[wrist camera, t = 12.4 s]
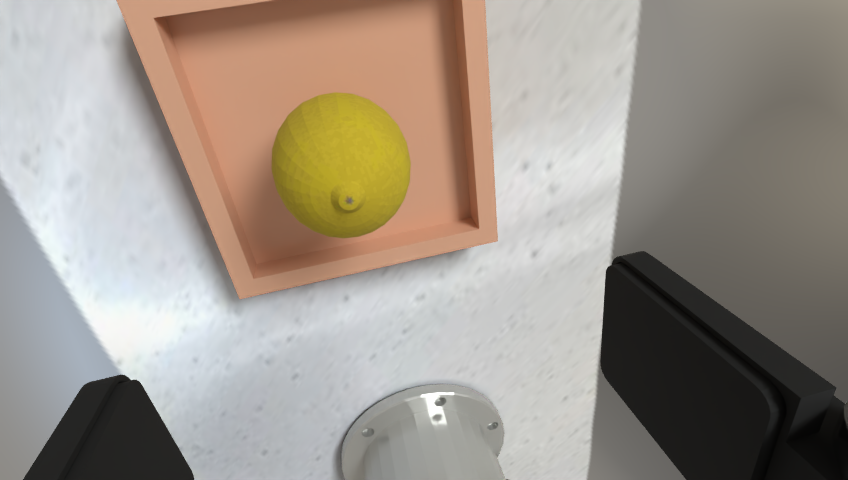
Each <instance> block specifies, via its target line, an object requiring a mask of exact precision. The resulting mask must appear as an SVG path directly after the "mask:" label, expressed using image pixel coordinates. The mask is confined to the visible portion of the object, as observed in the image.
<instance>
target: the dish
mask: <svg viewBox="0 0 848 480" xmlns="http://www.w3.org/2000/svg"><path fill="white" fill-rule="evenodd" d="M117 3H118V5H119V8H120V10H121V12H122V15H123V17H124V20H125V22H126V25H127V27H128V29H129V32H130V34H131V37H132V39H133V42H134V44H135V46H136V49H137V51H138V54H139V56H140V59H141V61H142V63H143V66H144V68H145V71H146V73H147V76H148V78H149V80H150V83H151V85H152V88H153V90H154V93H155V95H156V97H157V100H158V102H159V105H160V107H161V110H162V112H163V114H164V117H165V119H166V122H167V124H168V127H169V129H170V131H171V134H172V136H173V139H174V141H175V144H176V146H177V148H178V151H179V153H180V156H181V158H182V161H183V163H184V165H185V168H186V170H187V173H188V175H189V177H190V180H191V182H192V185H193V187H194V190H195V192H196V194H197V197H198V199H199V202H200V204H201V207H202V209H203V211H204V214H205V216H206V219H207V221H208V224H209V226H210V228H211V231H212V233H213V236H214V238H215V241H216V243H217V245H218V248H219V250H220V253H221V255H222V258H223V260H224V262H225V265H226V267H227V270H228V272H229V275H230V277H231V279H232V282H233V284H234V287H235V289H236V292H237V294H238V296H239V299H244V298H248V297H252V296H257V295H261V294H266V293H270V292H275V291H279V290H283V289H288V288H292V287H297V286H301V285H306V284H310V283H314V282H319V281H323V280H328V279H332V278H337V277H341V276H345V275H350V274H354V273H359V272H363V271H368V270H372V269H377V268H381V267H385V266H390V265H394V264H399V263H403V262H408V261H412V260H416V259H421V258H425V257H430V256H434V255H439V254H443V253H447V252H452V251H456V250H461V249H465V248H470V247H474V246H479V245H483V244H487V243H492V242H496V241H498V235H497V217H496V198H495V179H494V160H493V142H492V123H491V104H490V85H489V67H488V48H487V29H486V10H485V0H117ZM334 92H338V93H350V94H355V95H358V96H361V97H363V98H366V99H369V100H371V101H372V102H374V103H375V104H377V105H378V106H380V107H381V108H382V109H384V110H385V111H386V112H387V113H388V114H389V115H390V116H391V118H392V119H393V120H394V121H395V122H396V123H397V124H398V126H399V128H400V130H401V132H402V134H403V136H404V138H405V140H406V142H407V147H408V151H409V156H410V161H411V168H410V183H409V186H408V190H407V193H406V196H405V199H404V201H403V203H402V204H401V206H400V208H399V209H398V211H397V213H396V214H395V215H394V216H393V217H392V218H391V219H390V220H389V221H388V222H387V223H386V224H385V225H383V226H382V227H380V228H378V229H377V230H375V231H373V232H371V233H368V234H365V235H362V236H359V237H352V238H336V237H328V236H325V235H323V234H320V233H317V232H314V231H313V230H311V229H309V228H308V227H306V226H305V225H303V224H302V223H300V222H299V221H298V220H297V219H296V218H295V217H294V216H293V215H292V214H291V213H290V212H289V210H288V209H287V208H286V206H285V205H284V203H283V201H282V199H281V197H280V195H279V194H278V192H277V189H276V186H275V182H274V178H273V174H272V148H273V145H274V141H275V138H276V135H277V132H278V130H279V128H280V127H281V125H282V124H283V122H284V121H285V119H286V118H287V116H288V115H289V114H290V113H291V112H292V111H293V110H294V109H295V108H297V107H298V106H299V105H300V104H301V103H303V102H305V101H307V100H309V99H311V98H313V97H315V96H318V95H323V94H328V93H334Z"/></svg>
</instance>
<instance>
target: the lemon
mask: <svg viewBox="0 0 848 480" xmlns="http://www.w3.org/2000/svg"><path fill="white" fill-rule="evenodd" d="M410 168H411V161H410V156H409V151H408V147H407V142H406V140H405V138H404V136H403V134H402V132H401V130H400V128H399V126H398V124H397V123H396V122H395V121H394V120H393V119H392V118H391V116H390V115H389V114H388V113H387V112H386V111H385V110H384V109H382V108H381V107H380V106H378V105H377V104H375V103H374V102H372V101H371V100H369V99H366V98H363V97H361V96H358V95H355V94H350V93H338V92H334V93H328V94H323V95H318V96H315V97H313V98H311V99H309V100H307V101H305V102H303V103H301V104H300V105H299V106H298V107H297V108H295V109H294V110H293V111H292V112H291V113H290V114H289V115H288V116H287V118H286V119H285V121H284V122H283V124H282V125H281V127H280V128H279V130H278V132H277V135H276V138H275V141H274V145H273V148H272V174H273V178H274V182H275V186H276V189H277V192H278V194H279V195H280V197H281V199H282V201H283V203H284V205H285V206H286V208H287V209H288V210H289V212H290V213H291V214H292V215H293V216H294V217H295V218H296V219H297V220H298V221H299V222H300V223H302V224H303V225H305V226H306V227H308V228H309V229H311V230H313V231H314V232H317V233H320V234H323V235H325V236H328V237H336V238H352V237H359V236H362V235H365V234H368V233H371V232H373V231H375V230H377V229H378V228H380V227H382V226H383V225H385V224H386V223H387V222H388V221H389V220H390V219H391V218H392V217H393V216H394V215H395V214H396V213H397V211H398V209H399V208H400V206H401V204H402V203H403V201H404V199H405V196H406V193H407V190H408V186H409V183H410Z"/></svg>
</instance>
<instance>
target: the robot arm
mask: <svg viewBox="0 0 848 480" xmlns="http://www.w3.org/2000/svg"><path fill="white" fill-rule="evenodd" d="M600 362H601V369H602V372H603V374H604V376H605V378H606V379H607V381H608V382H609V383H610V385H611V386H612V387H613V388H614V390H615V391H616V392H617V393H618V395H619V396H620V397H621V398H622V400H623V401H624V402H625V403H626V405H627V406H628V407H629V408H630V410H631V411H632V412H633V413H634V415H635V416H636V417H637V418H638V420H639V421H640V422H641V423H642V425H643V426H644V427H645V428H646V430H647V431H648V432H649V433H650V435H651V436H652V437H653V438H654V440H655V441H656V442H657V443H658V445H659V446H660V447H661V449H662V450H663V451H664V452H665V454H666V455H667V456H668V457H669V459H670V460H671V461H672V462H673V463H674V465H675V466H676V467H677V469H678V470H679V471H680V472H681V473H682V475H683V476H684V477H685V479H686V480H848V401H847V402H846V404H844V403H843V402H842V401H840V400H839V399H838V398H836V397H835V396H834V392H835V390H836V387H835V386H833V385H832V384H831V383H829V382H828V381H826V380H825V379H824V378H822V377H821V376H819V375H818V374H817V373H815V372H813V371H812V370H811V369H809V368H808V367H807V366H805V365H804V364H803V363H801V362H800V361H798V360H797V359H796V358H794V357H792V356H791V355H790V354H788V353H787V352H786V351H784V350H783V349H781V348H780V347H779V346H777V345H776V344H774V343H773V342H772V341H770V340H769V339H768V338H766V337H765V336H763V335H762V334H761V333H759V332H758V331H756V330H755V329H754V328H752V327H751V326H749V325H748V324H746V323H745V322H744V321H742V320H741V319H739V318H738V317H737V316H735V315H734V314H732V313H731V312H730V311H728V310H727V309H725V308H724V307H723V306H721V305H720V304H718V303H717V302H715V301H714V300H713V299H711V298H710V297H709V296H707V295H706V294H704V293H703V292H702V291H700V290H699V289H697V288H696V287H695V286H693V285H692V284H690V283H689V282H687V281H686V280H685V279H683V278H682V277H681V276H679V275H678V274H676V273H675V272H673V271H672V270H671V269H669V268H668V267H667V266H665V265H664V264H662V263H661V262H660V261H658V260H657V259H655V258H654V257H653V256H651V255H649V254H648V253H646V252H644V251H641V252H636V253H632V254H627V255H623V256H619V257H616V258H615V259H614V260H613V262H612V265H611V266H609V267H608V268H607V270H606V279H605V295H604V312H603V328H602V344H601V361H600ZM503 441H504V428H503V423H502V420H501V418H500V416H499V413H498V411H497V409H496V408H495V406H494V405H493V403H492V402H491V401H490V400H489V399H487V398H486V397H485V396H484V395H483V394H481V393H479V392H477V391H475V390H473V389H470V388H466V387H462V386H459V385H449V384H435V385H424V386H419V387H415V388H410V389H407V390H404V391H401V392H399V393H396V394H393V395H392V396H390V397H388V398H386V399H384V400H382V401H380V402H378V403H377V404H375V405H374V406H373V407H371V408H370V409H368V410H367V411H366V412H365V413H364V414H363V415H362V416H361V417H360V418H359V419H358V420H357V421H356V422H355V423H354V424H353V426H352V427H351V429H350V430H349V431H348V433H347V435H346V438H345V440H344V442H343V446H342V452H341V461H342V472H343V475H344V478H345V480H508V479H505V477H504V474H503V472H502V469H501V467H500V464H499V462H498V459H497V457H498V455H499V453H500V451H501V448H502V445H503ZM23 480H194V476H193V473H192V471H191V469H190V467H189V465H188V464H187V462H186V460H185V459H184V457H183V455H182V453H181V452H180V450H179V448H178V446H177V445H176V443H175V441H174V440H173V438H172V436H171V434H170V433H169V431H168V429H167V427H166V426H165V424H164V422H163V421H162V419H161V417H160V415H159V414H158V412H157V410H156V408H155V407H154V405H153V403H152V402H151V400H150V398H149V396H148V395H147V393H146V391H145V390H144V388H143V386H142V385H141V383H140V382H139V381H137V380H130V379H129V378H128V377H127V376H125V375H118V376H114V377H109V378H105V379H101V380H97V381H92V382H89V383H87V384H85V385H84V386H83V387H82V388H81V390H80V391H79V393H78V394H77V396H76V397H75V399H74V401H73V402H72V404H71V405H70V407H69V408H68V410H67V412H66V413H65V415H64V416H63V418H62V419H61V421H60V422H59V424H58V426H57V427H56V429H55V431H54V432H53V434H52V435H51V437H50V438H49V440H48V441H47V443H46V444H45V446H44V448H43V449H42V451H41V452H40V454H39V455H38V457H37V459H36V460H35V462H34V463H33V465H32V467H31V468H30V470H29V471H28V473H27V474H26V476H25V477H24V479H23Z"/></svg>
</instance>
